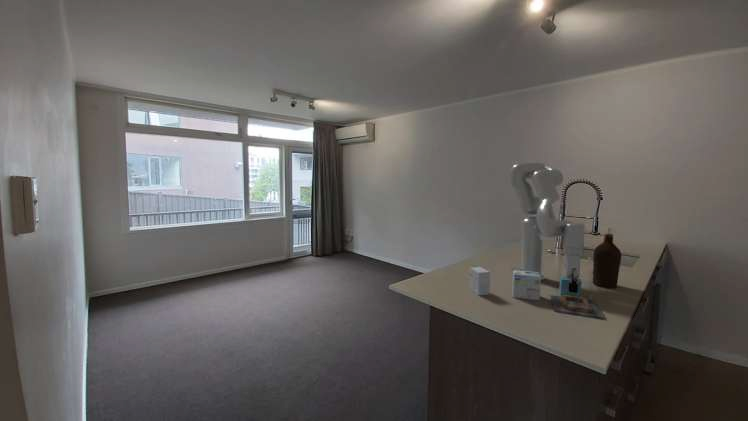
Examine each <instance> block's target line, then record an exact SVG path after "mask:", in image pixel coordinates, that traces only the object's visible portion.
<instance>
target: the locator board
mask: <svg viewBox="0 0 748 421" xmlns="http://www.w3.org/2000/svg"><path fill="white" fill-rule="evenodd" d="M550 300H551V304H552V307H553V311H554V312H555V313H560V314H561V313H562V314H568V315H573V316H575V315H576V316H582V317H585V318H586V317H587V318H593V319H594V318H595V319H600V320H605V316H604V314H603V313H602V310H601V309H600V308H599V306H598V304H597V303H596V301H595V300H594V294H591V293H589V294H588V300H587V298H586V297H582V296H580V297H575V296H568V295H552V294H550Z"/></svg>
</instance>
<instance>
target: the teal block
mask: <svg viewBox="0 0 748 421" xmlns="http://www.w3.org/2000/svg"><path fill="white" fill-rule="evenodd" d="M569 283H570V278H569V277H566V276H559V290H558V292H559V294H560V295H559V296H561V295H568V296H575V297H581V296H582V292H581V291H582V280H581V278H578V292H577V293H573V292H569Z"/></svg>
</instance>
